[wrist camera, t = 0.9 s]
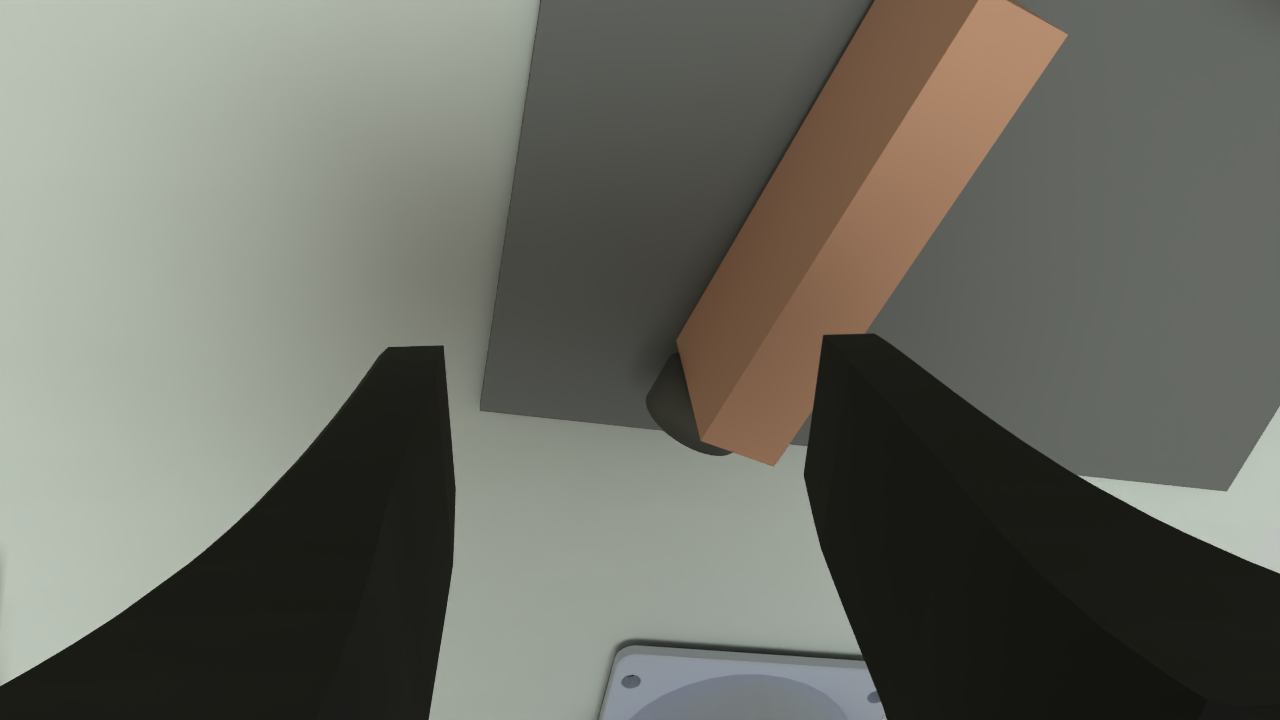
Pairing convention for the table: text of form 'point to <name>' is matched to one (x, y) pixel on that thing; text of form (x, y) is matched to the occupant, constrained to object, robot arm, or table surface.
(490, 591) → the table surface
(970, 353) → the mat
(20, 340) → the table surface
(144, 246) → the table surface
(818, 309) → the tan rectangular bar
